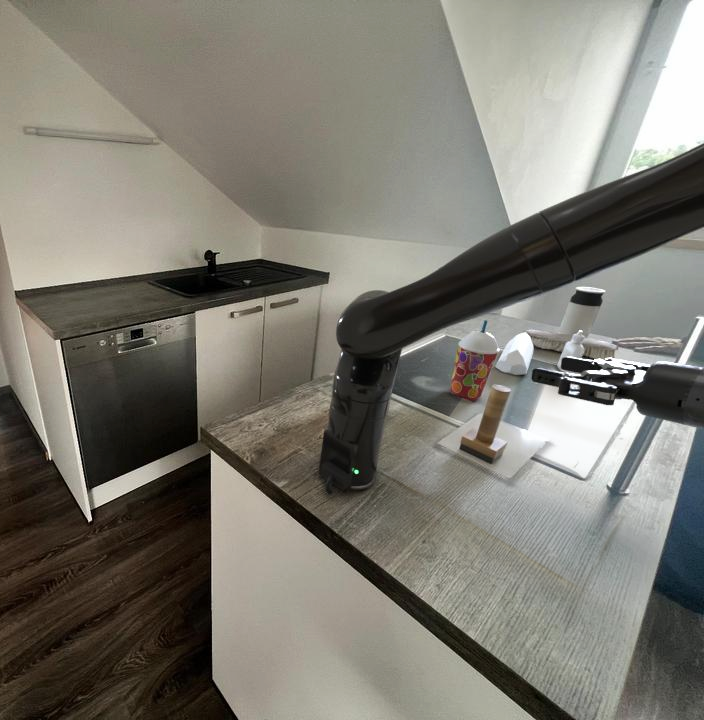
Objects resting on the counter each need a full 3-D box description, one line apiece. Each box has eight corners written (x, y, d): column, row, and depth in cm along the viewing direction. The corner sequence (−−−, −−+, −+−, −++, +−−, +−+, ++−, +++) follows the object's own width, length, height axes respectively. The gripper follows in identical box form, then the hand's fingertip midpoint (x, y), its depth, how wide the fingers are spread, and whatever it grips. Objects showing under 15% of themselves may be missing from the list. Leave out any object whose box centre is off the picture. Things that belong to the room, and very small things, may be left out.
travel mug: (592, 344, 132) (613, 292, 125) (568, 343, 132) (588, 291, 125) (573, 336, 139) (592, 286, 132) (550, 335, 139) (568, 286, 132)
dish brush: (491, 465, 72) (515, 398, 66) (458, 449, 76) (477, 385, 70) (502, 455, 74) (526, 390, 69) (469, 440, 79) (489, 378, 73)
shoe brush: (612, 356, 122) (619, 341, 120) (615, 364, 117) (622, 348, 115) (519, 339, 136) (524, 326, 134) (518, 345, 130) (523, 331, 128)
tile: (508, 483, 69) (510, 478, 68) (435, 447, 78) (436, 443, 78) (547, 443, 79) (549, 439, 79) (479, 416, 89) (480, 412, 89)
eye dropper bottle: (554, 370, 112) (569, 331, 107) (557, 364, 116) (572, 326, 111) (573, 375, 109) (589, 335, 105) (576, 369, 113) (592, 330, 108)
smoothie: (480, 392, 99) (504, 318, 91) (485, 407, 93) (511, 328, 85) (444, 386, 103) (463, 313, 95) (446, 400, 96) (467, 323, 88)
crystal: (502, 335, 128) (489, 357, 111) (528, 329, 122) (519, 351, 106) (509, 356, 128) (498, 381, 111) (536, 351, 123) (528, 376, 106)
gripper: (729, 357, 50) (574, 337, 64) (684, 382, 44) (525, 354, 58) (714, 410, 52) (567, 379, 66) (670, 441, 46) (519, 400, 60)
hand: (548, 368), depth 62 cm, fingers open, 8 cm apart
